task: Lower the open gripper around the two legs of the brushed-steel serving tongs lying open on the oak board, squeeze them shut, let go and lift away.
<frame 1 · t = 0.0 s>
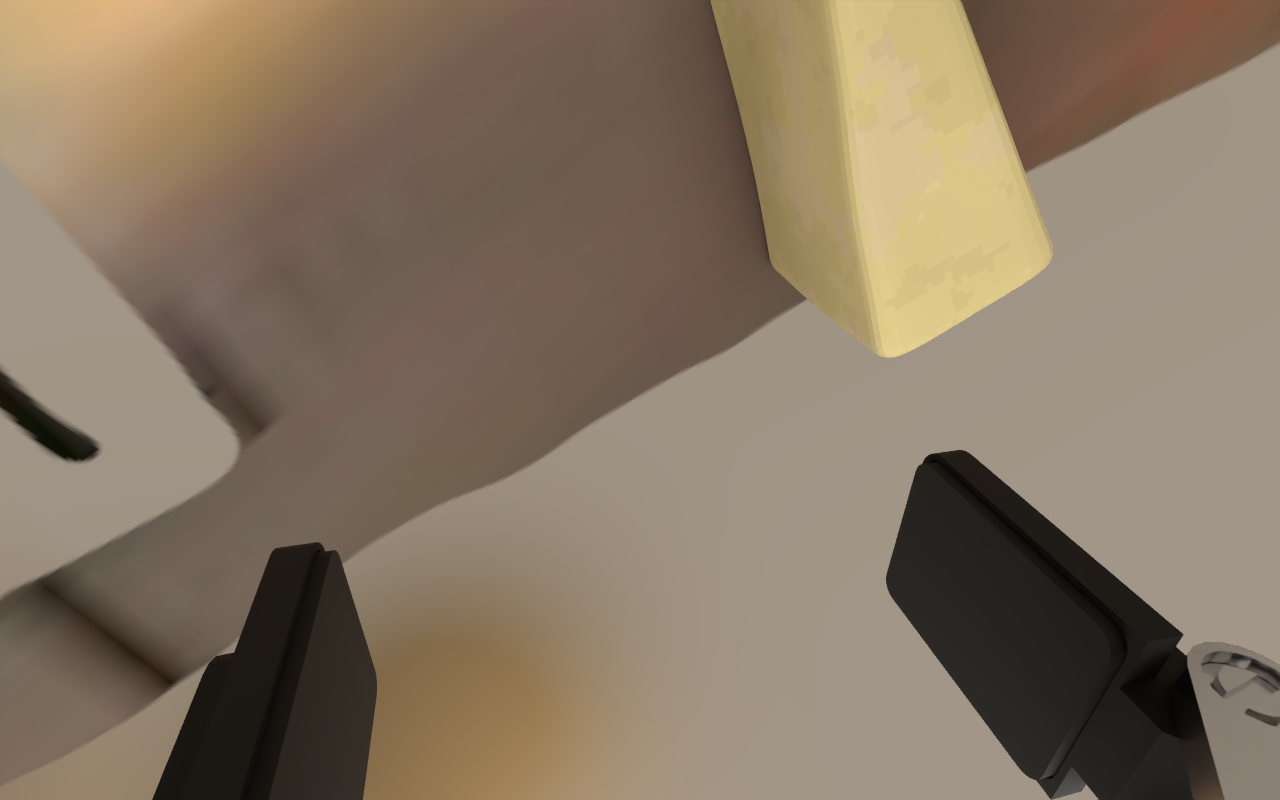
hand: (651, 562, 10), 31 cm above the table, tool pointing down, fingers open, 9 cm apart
cheese: (768, 77, 37), on the table
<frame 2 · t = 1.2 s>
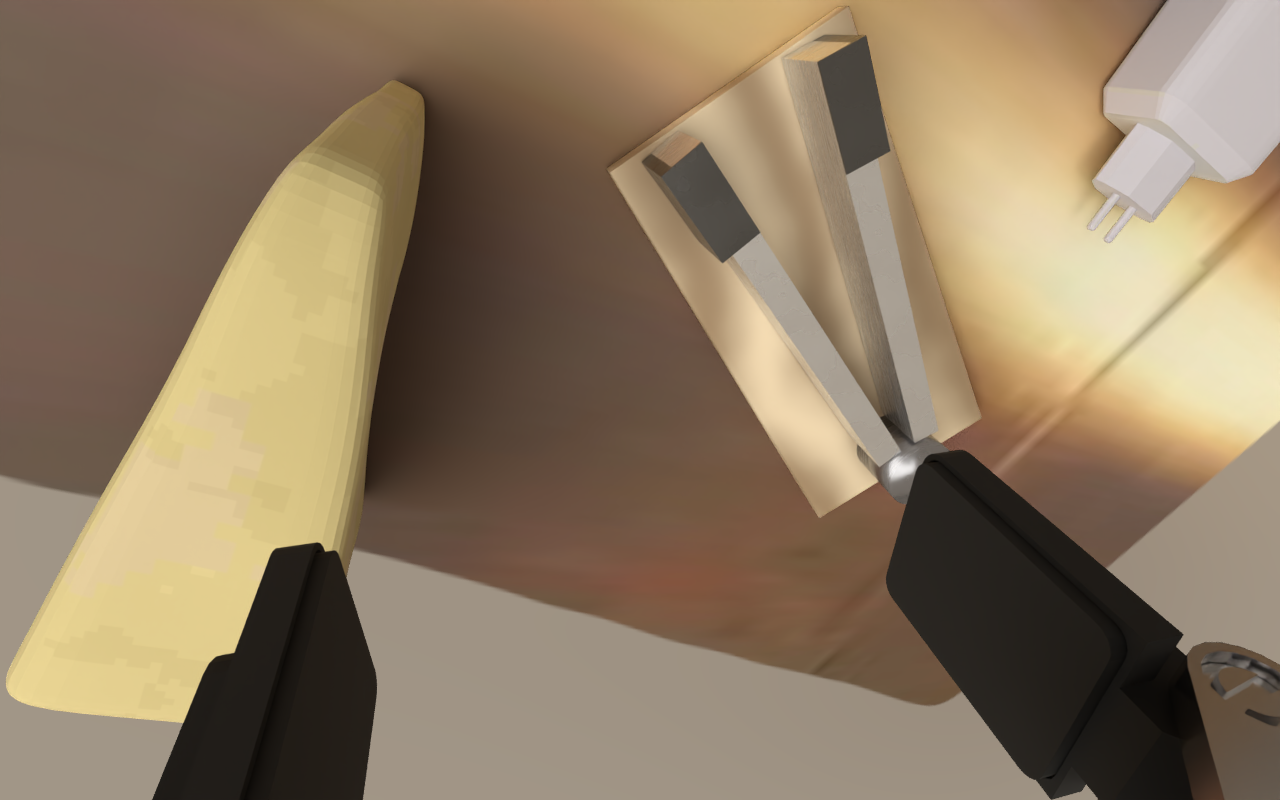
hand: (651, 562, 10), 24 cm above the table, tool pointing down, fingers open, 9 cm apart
tongs hinge pin: (886, 440, 43), resting on oak board
tongs leg 2: (876, 267, 34), point 3 cm above the table, hinge at -6.0°
cheese: (330, 305, 31), on the table
tongs leg 1: (787, 325, 34), point 3 cm above the table, hinge at 6.0°
oak board: (822, 311, 38), on the table
charger: (1152, 104, 36), on the table
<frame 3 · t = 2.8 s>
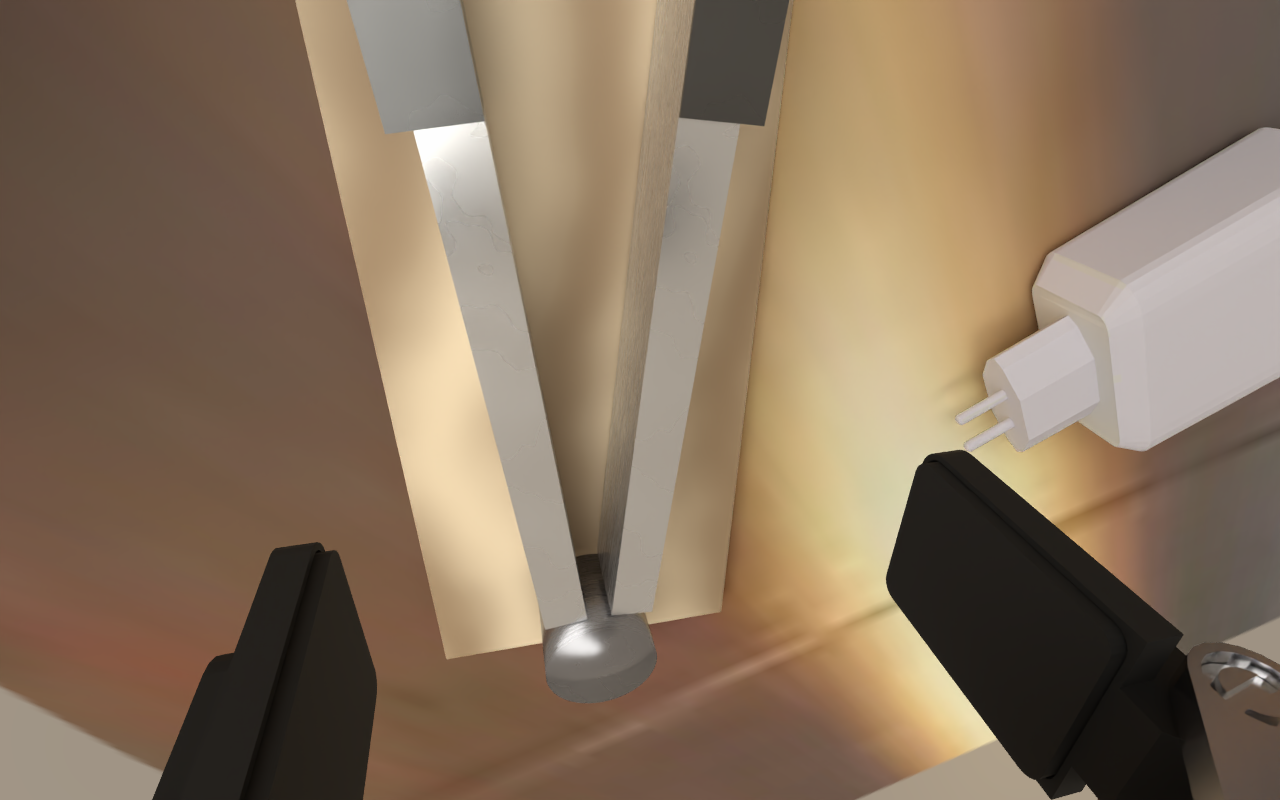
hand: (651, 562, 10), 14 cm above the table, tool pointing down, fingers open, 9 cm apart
tongs hinge pin: (587, 590, 28), resting on oak board
tongs leg 2: (668, 325, 20), point 3 cm above the table, hinge at -6.0°
tongs leg 1: (493, 340, 19), point 3 cm above the table, hinge at 6.0°
oak board: (574, 361, 23), on the table
charger: (1076, 314, 28), on the table
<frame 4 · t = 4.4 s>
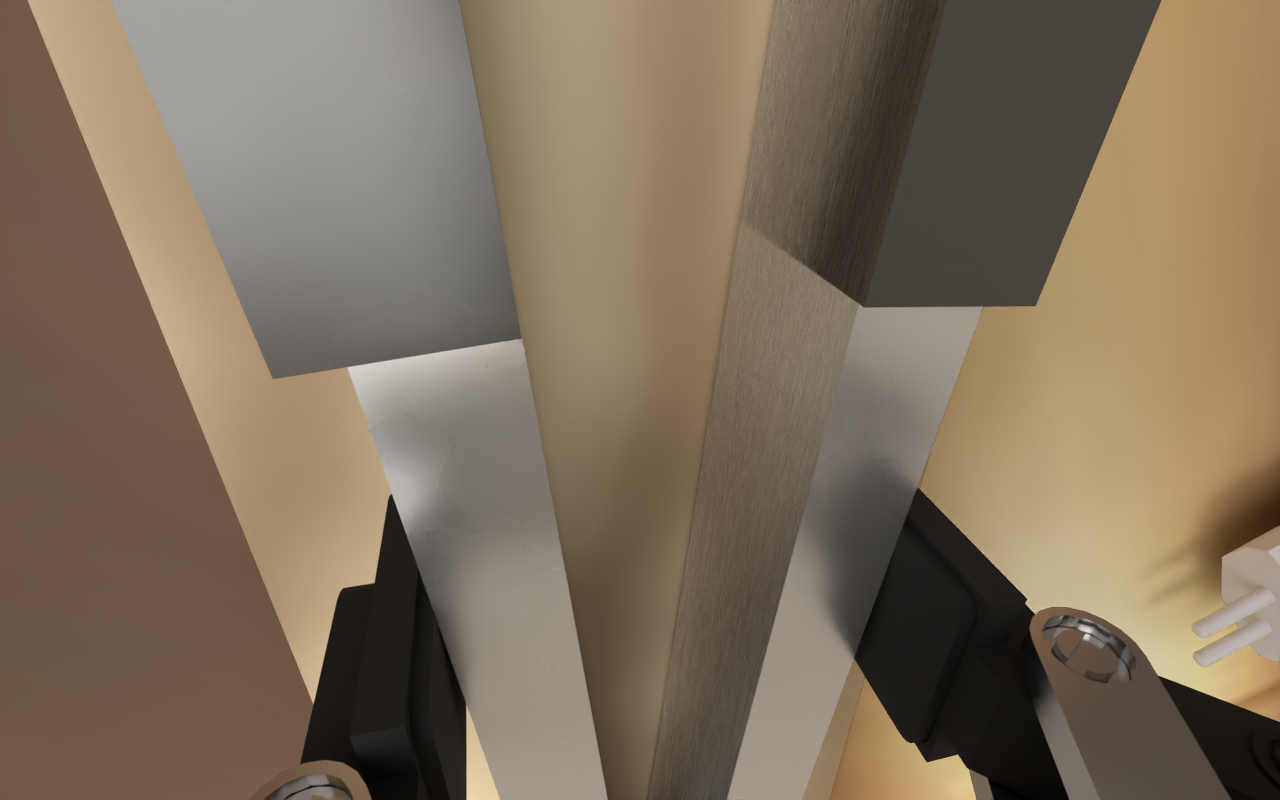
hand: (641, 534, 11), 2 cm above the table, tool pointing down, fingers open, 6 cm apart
tongs leg 2: (777, 594, 12), point 3 cm above the table, hinge at -4.4°, touching gripper
tongs leg 1: (510, 643, 11), point 3 cm above the table, hinge at 4.6°, touching gripper
oak board: (618, 597, 15), on the table
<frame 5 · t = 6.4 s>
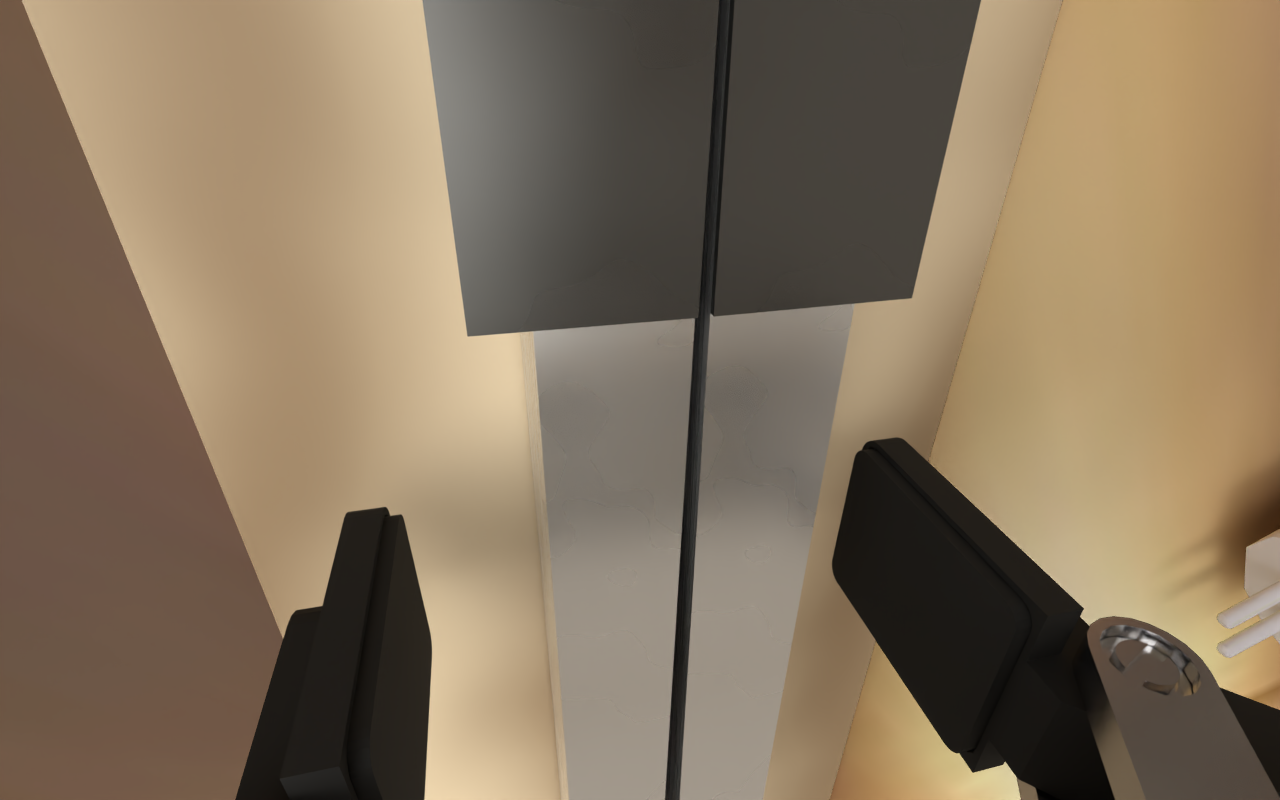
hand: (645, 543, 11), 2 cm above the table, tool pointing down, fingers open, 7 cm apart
tongs leg 2: (717, 602, 11), point 3 cm above the table, hinge at 0.3°
tongs leg 1: (580, 627, 11), point 3 cm above the table, hinge at -0.4°
oak board: (617, 599, 15), on the table
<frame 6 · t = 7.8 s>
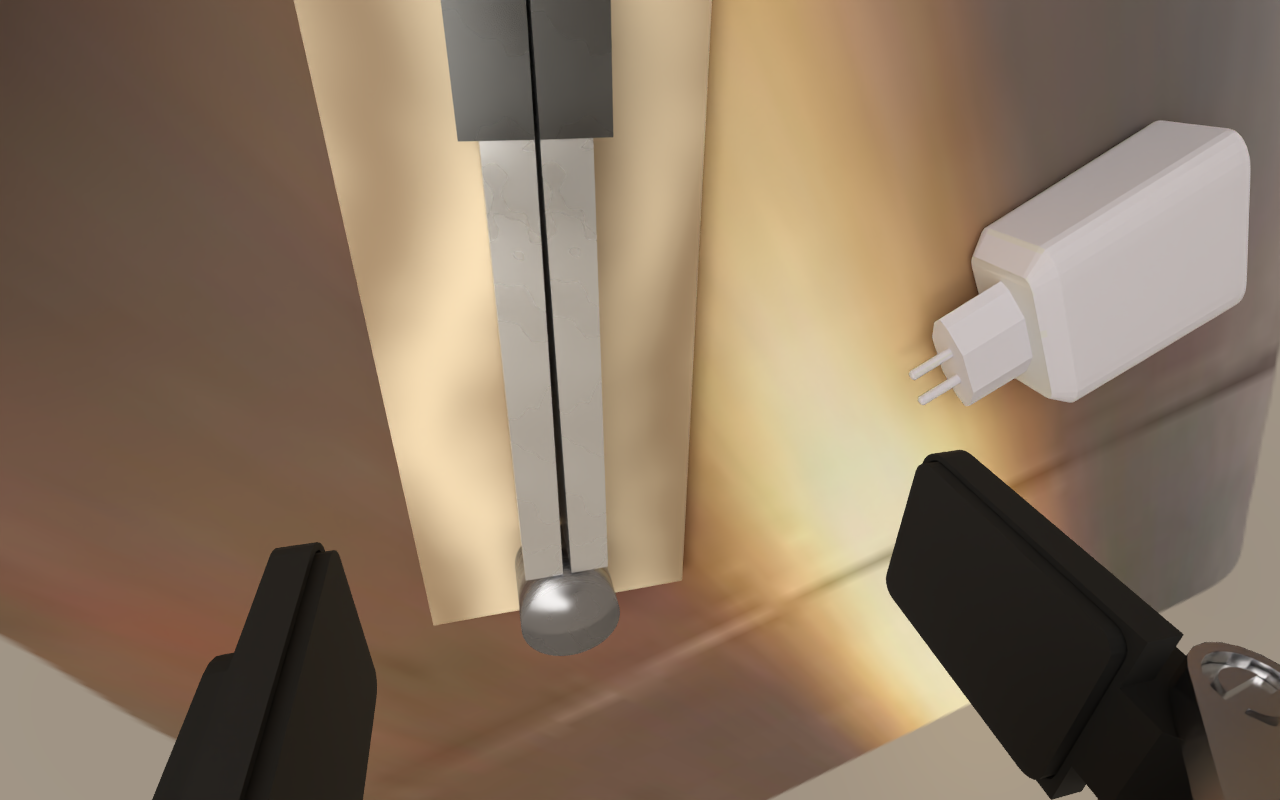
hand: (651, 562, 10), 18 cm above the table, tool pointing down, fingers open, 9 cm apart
tongs hinge pin: (559, 559, 32), resting on oak board
tongs leg 2: (578, 312, 24), point 3 cm above the table, hinge at 0.3°
tongs leg 1: (511, 318, 23), point 3 cm above the table, hinge at -0.4°
oak board: (541, 350, 27), on the table
charger: (1012, 285, 32), on the table
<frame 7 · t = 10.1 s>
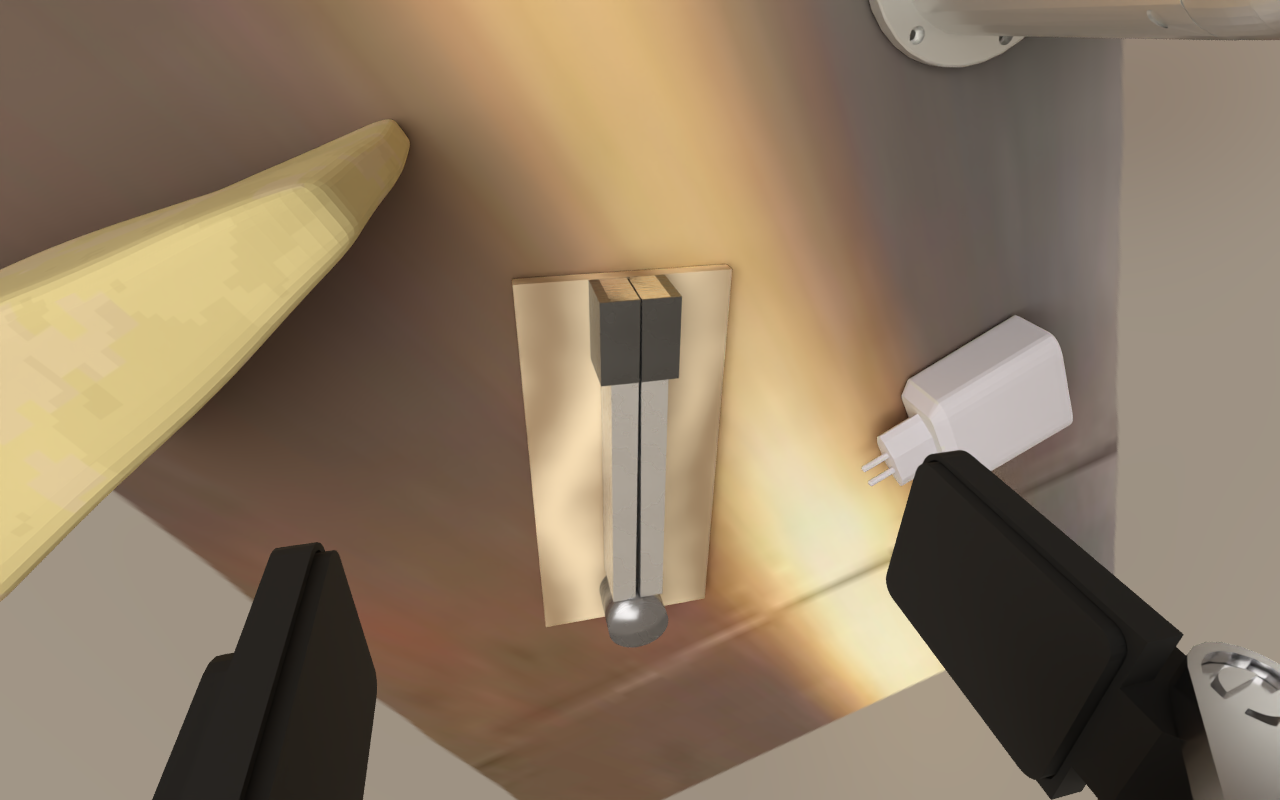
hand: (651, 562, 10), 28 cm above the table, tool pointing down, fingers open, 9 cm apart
tongs hinge pin: (627, 585, 49), resting on oak board
tongs leg 2: (651, 452, 41), point 3 cm above the table, hinge at 0.3°
cheese: (225, 247, 32), on the table
tongs leg 1: (614, 456, 41), point 3 cm above the table, hinge at -0.4°
oak board: (623, 463, 45), on the table
charger: (931, 406, 50), on the table
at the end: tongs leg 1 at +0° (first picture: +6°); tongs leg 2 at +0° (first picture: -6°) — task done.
